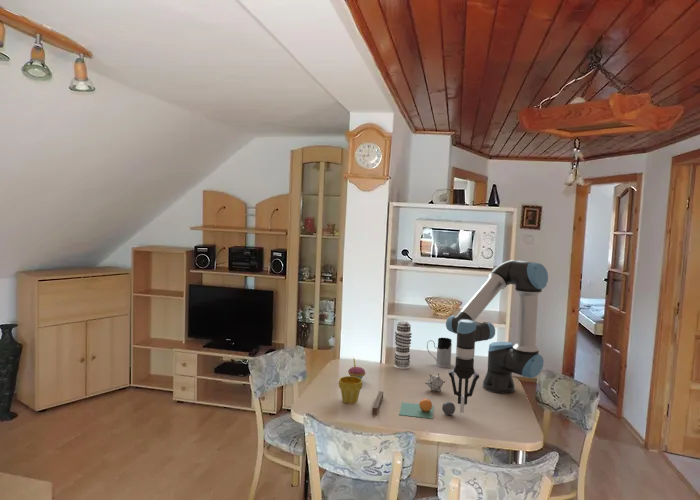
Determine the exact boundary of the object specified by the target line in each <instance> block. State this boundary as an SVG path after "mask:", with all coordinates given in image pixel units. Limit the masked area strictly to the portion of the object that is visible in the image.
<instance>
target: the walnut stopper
mask: <svg viewBox="0 0 700 500" xmlns="http://www.w3.org/2000/svg"><path fill="white" fill-rule="evenodd" d="M383 399H384V391H382V390H381V391H379V390H378V393H377V396H376V399H375V400H374V403H373V406H372V410H371V414H372V416H378V413H379V410H380V408H381V405H382V402H383Z"/></svg>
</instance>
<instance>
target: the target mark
mask: <svg viewBox="0 0 700 500" xmlns="http://www.w3.org/2000/svg"><path fill="white" fill-rule="evenodd" d="M419 404H420V403H414V402H413V403H412V402H404V401H402V402H401V404H400V405H401V406H400V409H399V412H398V415H399V416H404V417H405V416H406V417H412V418H422V419H429V420H431V419H432V420H433V418H434V407H435V406H434V405H432V409H431V410H430V411H428V412H424V411H422V410H421V409H420V406H419Z"/></svg>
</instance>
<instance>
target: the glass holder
mask: <svg viewBox="0 0 700 500" xmlns="http://www.w3.org/2000/svg"><path fill="white" fill-rule="evenodd" d="M429 342H433V347H434V349H437V351H436V357H435V356H434V355H433V354H432V353H431V352H430V350H429V347H428V346H429V345H428V343H429ZM452 342H453V341H452V339H451V338H449V337H439V338H437V347H436V344H435V341H434V340H428V341H427V342H426V349H427V351H428V353H429V354H430V356H431V357H433V359H434V360H435V361H436V363H435V366H436V367H439V368H443V369H444V368H445V369H446V368H451V367H452V363H451V362H452V345H453V344H452Z"/></svg>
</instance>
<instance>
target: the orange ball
mask: <svg viewBox="0 0 700 500" xmlns="http://www.w3.org/2000/svg"><path fill="white" fill-rule="evenodd" d="M418 404H419V406H420V409H421V410H422V411H424V412H428V411H430V410H431V409H432V406H433V403H432V401H431V400H430V399H428V398H423V399H421V400H420V401H419V403H418Z"/></svg>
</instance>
